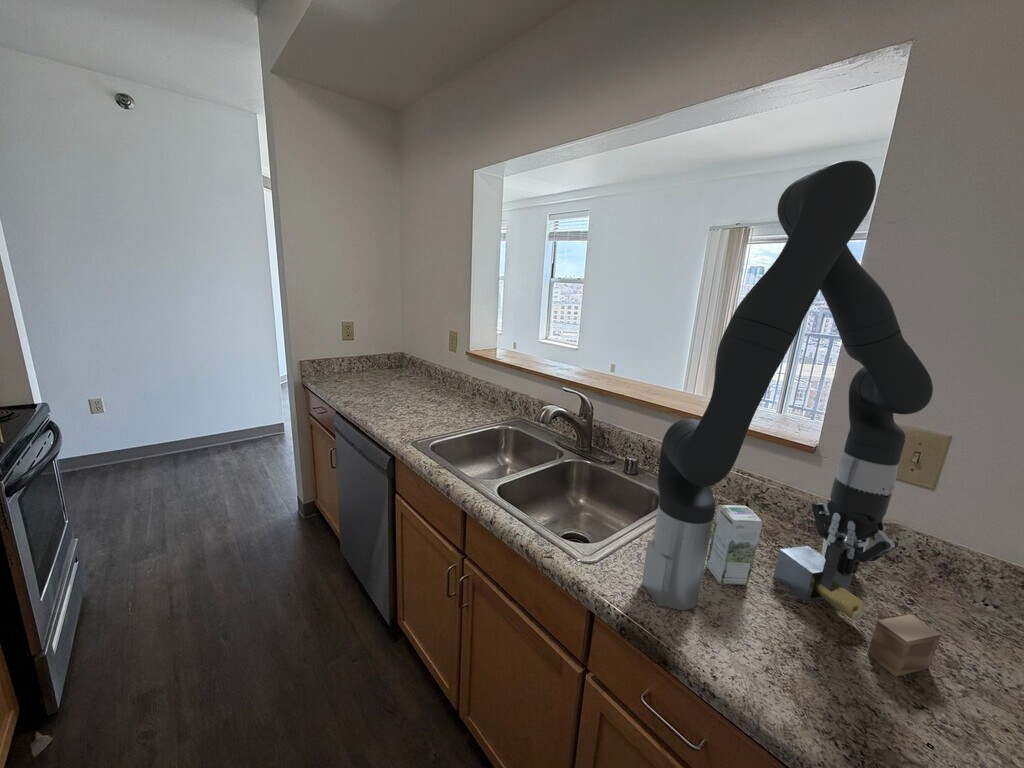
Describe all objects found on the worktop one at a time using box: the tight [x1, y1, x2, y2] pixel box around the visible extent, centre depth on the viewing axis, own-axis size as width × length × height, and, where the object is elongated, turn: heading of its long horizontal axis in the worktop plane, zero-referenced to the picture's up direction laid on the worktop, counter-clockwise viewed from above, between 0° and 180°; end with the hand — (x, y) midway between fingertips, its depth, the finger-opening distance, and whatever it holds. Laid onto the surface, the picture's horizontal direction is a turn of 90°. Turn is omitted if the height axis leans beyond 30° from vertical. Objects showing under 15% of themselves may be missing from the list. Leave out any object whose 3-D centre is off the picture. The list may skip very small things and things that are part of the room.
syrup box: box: [705, 504, 764, 586], centre depth 80 cm, size 6×6×14 cm
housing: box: [773, 545, 826, 604], centre depth 79 cm, size 7×7×6 cm
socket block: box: [866, 614, 942, 677], centre depth 64 cm, size 4×7×6 cm, turn 104°
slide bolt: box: [813, 541, 867, 621], centre depth 75 cm, size 13×4×12 cm, turn 14°
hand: (838, 569), depth 73 cm, fingers closed on slide bolt, 2 cm apart
